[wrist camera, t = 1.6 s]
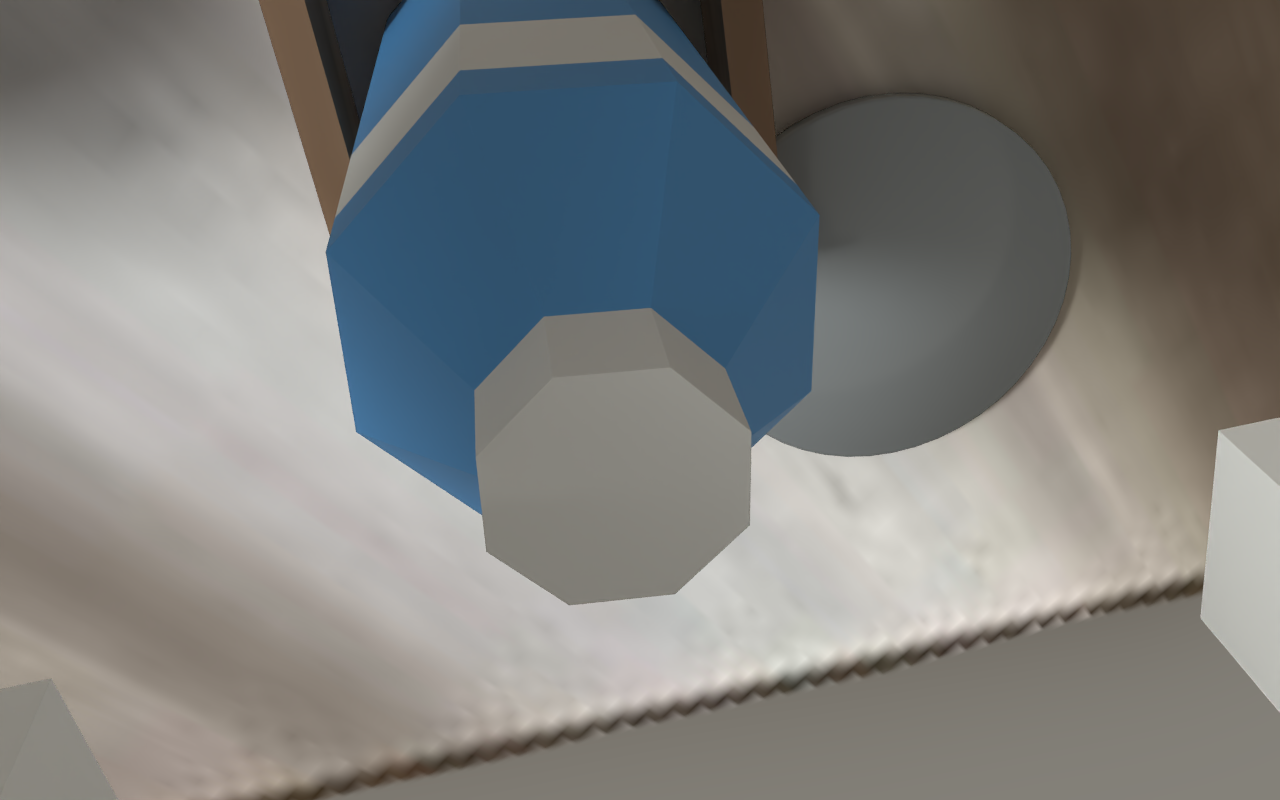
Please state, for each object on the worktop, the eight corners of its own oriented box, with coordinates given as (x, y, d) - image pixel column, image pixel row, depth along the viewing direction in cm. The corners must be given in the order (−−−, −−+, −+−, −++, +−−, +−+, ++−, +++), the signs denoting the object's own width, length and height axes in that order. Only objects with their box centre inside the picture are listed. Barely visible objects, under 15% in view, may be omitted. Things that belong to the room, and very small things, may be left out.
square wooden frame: (373, 301, 42) (365, 353, 38) (249, -125, 35) (225, -110, 31) (761, 226, 42) (788, 270, 39) (715, -208, 35) (742, -203, 32)
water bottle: (469, 250, 41) (478, 816, 20) (325, -3, 37) (128, 371, 15) (716, 131, 40) (1010, 589, 19) (599, -143, 36) (808, 42, 14)
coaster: (714, 476, 47) (717, 487, 46) (664, 134, 40) (668, 141, 40) (1057, 408, 48) (1065, 417, 47) (1066, 58, 41) (1077, 64, 40)
